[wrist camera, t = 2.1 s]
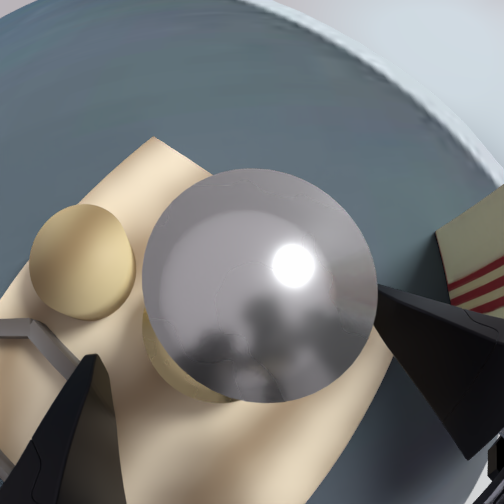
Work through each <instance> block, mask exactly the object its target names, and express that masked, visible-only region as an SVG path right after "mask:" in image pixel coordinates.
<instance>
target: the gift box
mask: <svg viewBox="0 0 504 504" xmlns="http://www.w3.org/2000/svg"><path fill="white" fill-rule="evenodd" d="M435 233H436V238H437V241H438V245H439V249H440V253H441V257H442V262H443V266H444V271H445V275H446V280H447V287H448V291H449V297H450V302H451V305H453V306H456V307H460V308H462V309H467V310H470V311H474V312H477V313H481V314H485V315H489V316H494V317H498V318H503V319H504V184H503V185H502V186H500V187H499V188H498V189H496V190H495V191H494V192H492V193H491V194H490V195H488V196H487V197H485V198H484V199H483V200H481V201H480V202H478V203H477V204H475V205H474V206H473V207H471V208H470V209H468V210H467V211H465V212H464V213H462V214H461V215H459V216H458V217H456V218H455V219H453V220H452V221H450V222H449V223H447V224H446V225H444V226H443V227H441V228H439V229H438V230H436V231H435Z"/></svg>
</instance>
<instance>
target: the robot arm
mask: <svg viewBox="0 0 504 504" xmlns="http://www.w3.org/2000/svg"><path fill="white" fill-rule="evenodd" d="M377 285H378V301H377V309H376V316H375V320H374V324H373V326H374V327H375V329H376V330H377V332H378V334H379V335H380V337H381V338H382V340H383V342H384V343H385V344H386V346H387V347H388V349H389V350H390V351H391V352H392V354H393V355H394V356H395V358H396V359H397V360H398V362H399V363H400V364H401V366H402V367H403V369H404V370H405V371H406V373H407V374H408V375H409V377H410V378H411V379H412V381H413V382H414V384H415V385H416V386H417V388H418V389H419V390H420V392H421V393H422V395H423V396H424V397H425V399H426V400H427V402H428V403H429V405H430V406H431V407H432V409H433V410H434V412H435V413H436V415H437V416H438V417H439V419H440V420H441V422H443V423H442V424H443V425H444V427H445V428H446V429H447V431H448V432H449V434H450V435H451V437H452V438H453V440H454V441H455V443H456V445H457V446H458V448H459V449H460V451H461V452H462V454H463V455H464V457H465V458H466V459H467V460H470V459H471V458H472V457H473V456H474V455H475V454H476V453H478V452H479V451H480V450H481V449H482V448H483V447H484V446H485V445H486V444H487V443H489V442H490V441H491V440H492V439H493V438H494V437H495V436H496V435H497V434H498V433H499V434H500V437H499V438H498V439H497V440H496V442H495V443H494V444H493V445H492V447H491V448H490V449H489V450H488V477H489V478H490V479H491V480H492V482H491V484H490V485H489V486H488V487H487V488H486V489H485V491H484V492H483V493H482V494H481V495H480V496H479V497H478V498H477V499H476V501H475V502H474V503H473V504H504V319H503V318H498V317H494V316H489V315H485V314H481V313H477V312H474V311H470V310H467V309H462V308H460V307H456V306H453V305H449V304H446V303H443V302H439V301H436V300H432V299H429V298H425V297H422V296H418V295H415V294H411V293H408V292H404V291H401V290H398V289H394V288H391V287H387V286H384V285H380V284H377ZM0 504H127V502H126V497H125V491H124V485H123V479H122V472H121V464H120V455H119V446H118V435H117V423H116V417H115V411H114V405H113V399H112V392H111V385H110V378H109V374H108V372H107V370H106V368H105V366H104V364H103V362H102V360H101V358H100V356H99V355H98V354H96V353H94V354H87V355H85V356H84V357H83V358H82V360H81V361H80V362H79V364H78V365H77V367H76V368H75V370H74V371H73V373H72V374H71V376H70V377H69V379H68V380H67V382H66V383H65V385H64V386H63V388H62V389H61V391H60V392H59V394H58V395H57V397H56V398H55V400H54V402H53V403H52V405H51V406H50V408H49V410H48V411H47V413H46V414H45V416H44V418H43V419H42V421H41V423H40V424H39V426H38V428H37V429H36V431H35V433H34V434H33V436H32V440H30V441H29V443H28V445H27V446H26V448H25V450H24V452H23V453H22V455H21V457H20V458H19V460H18V462H17V463H16V465H15V466H14V468H13V470H12V471H11V473H10V474H9V476H8V477H7V479H6V480H5V482H4V483H3V485H2V486H1V488H0Z"/></svg>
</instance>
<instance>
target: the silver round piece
mask: <svg viewBox="0 0 504 504" xmlns="http://www.w3.org/2000/svg"><path fill="white" fill-rule="evenodd" d="M142 291H143V297H144V304H145V307H144V312H143V319H142V334H143V340H144V345H145V348H146V351H147V354H148V357H149V359H150V361H151V363H152V364H153V366H154V368H155V369H156V370H157V372H158V373H159V375H160V376H161V377H162V378H163V379H164V380H165V381H166V382H167V383H168V384H169V385H171V386H172V387H173V388H174V389H176V390H178V391H179V392H181V393H182V394H184V395H186V396H189V397H191V398H193V399H197V400H200V401H204V402H210V403H230V402H236V401H240V400H242V401H246V402H255V403H281V402H286V401H291V400H296V399H300V398H303V397H305V396H308V395H311V394H314V393H316V392H317V391H319V390H321V389H323V388H325V387H327V386H328V385H330V384H331V383H332V382H334V381H335V380H336V379H338V378H339V377H340V376H341V375H342V374H343V373H344V372H345V371H346V370H347V369H348V368H349V367H350V366H351V365H352V364H353V363H354V361H355V360H356V359H357V357H358V356H359V355H360V353H361V351H362V350H363V348H364V346H365V344H366V342H367V340H368V338H369V335H370V333H371V330H372V328H373V324H374V320H375V316H376V309H377V301H378V285H377V277H376V271H375V266H374V262H373V258H372V256H371V253H370V250H369V247H368V245H367V243H366V241H365V239H364V237H363V235H362V233H361V231H360V230H359V228H358V227H357V225H356V224H355V222H354V221H353V220H352V218H351V217H350V216H349V214H348V213H347V212H346V211H345V210H344V209H343V208H342V207H341V206H340V205H339V204H338V203H337V202H336V201H335V200H334V199H333V198H331V197H330V196H329V195H328V194H326V193H325V192H324V191H322V190H320V189H319V188H317V187H316V186H314V185H312V184H310V183H309V182H307V181H305V180H303V179H300V178H298V177H295V176H292V175H290V174H286V173H282V172H279V171H274V170H267V169H251V168H249V169H236V170H231V171H226V172H222V173H219V174H216V175H213V176H210V177H207V178H205V179H203V180H201V181H199V182H197V183H195V184H194V185H192V186H191V187H189V188H188V189H186V190H185V191H183V192H182V193H181V194H180V195H179V196H178V197H177V198H175V199H174V200H173V201H172V202H171V204H170V205H169V206H168V207H167V208H166V209H165V211H164V212H163V213H162V215H161V216H160V218H159V219H158V221H157V223H156V224H155V226H154V228H153V230H152V233H151V235H150V237H149V239H148V243H147V246H146V250H145V253H144V259H143V266H142Z"/></svg>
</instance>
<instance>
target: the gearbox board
mask: <svg viewBox="0 0 504 504" xmlns="http://www.w3.org/2000/svg"><path fill="white" fill-rule="evenodd" d="M210 176H213V175H212V174H210V173H209V172H207V171H206V170H204V169H203V168H201V167H200V166H198V165H197V164H195V163H194V162H192V161H191V160H189V159H188V158H186V157H185V156H183V155H182V154H180V153H179V152H177V151H175V150H174V149H172V148H171V147H169V146H168V145H166V144H165V143H163V142H162V141H160V140H158V139H157V138H155V137H154V136H153V137H152V138H151V139H149V140H148V141H147V142H146V143H144V144H143V145H142V146H141V147H139V148H138V149H137V150H136V151H135V152H133V153H132V154H131V155H130V156H129V157H128V158H126V159H125V160H124V161H123V162H122V163H121V164H120V165H118V166H117V167H116V168H115V169H114V170H113V171H112V172H111V173H109V174H108V175H107V176H106V177H105V178H104V179H103V180H102V181H101V182H100V183H99V184H98V185H97V186H96V187H95V188H94V189H93V190H91V191H90V192H89V193H88V194H87V195H86V196H85V197H84V198H83V199H82V200H81V201H80V202H79V204H78V205H74V206H71V207H68V208H65V209H63V210H61V211H59V212H58V213H56V214H55V215H54V216H52V217H51V218H50V219H49V220H48V221H47V222H46V223H45V224H44V225H43V227H42V228H41V229H40V231H39V232H38V234H37V236H36V238H35V240H34V242H33V245H32V248H31V252H30V259H29V261H28V262H27V263H26V265H25V266H24V267H23V269H22V270H21V271H20V273H19V274H18V275H17V277H16V278H15V279H14V281H13V282H12V284H11V285H10V286H9V288H8V289H7V291H6V292H5V294H4V295H3V297H2V298H1V300H0V478H1V479H2V480H3V481H4V482H5V480H6V479H7V477H8V476H9V474H10V473H11V471H12V470H13V468H14V466H15V465H16V463H17V462H18V460H19V458H20V457H21V455H22V453H23V452H24V450H25V448H26V446H27V445H28V443H29V441H30V440H32V436H33V434H34V433H35V431H36V429H37V428H38V426H39V424H40V423H41V421H42V419H43V418H44V416H45V414H46V413H47V411H48V410H49V408H50V406H51V405H52V403H53V402H54V400H55V398H56V397H57V395H58V394H59V392H60V391H61V389H62V388H63V386H64V385H65V383H66V382H67V380H68V379H69V377H70V376H71V374H72V373H73V371H74V370H75V368H76V367H77V365H78V364H79V362H80V361H81V360H82V358H83V357H84V356H85V355H87V354H94V353H96V354H98V355H99V356H100V358H101V360H102V362H103V364H104V366H105V368H106V370H107V372H108V374H109V378H110V385H111V392H112V399H113V405H114V411H115V417H116V423H117V435H118V446H119V455H120V464H121V472H122V479H123V485H124V491H125V497H126V502H127V504H305V503H306V501H307V500H308V499H309V498H310V496H311V495H312V494H313V493H314V491H315V490H316V489H317V487H318V486H319V485H320V483H321V482H322V481H323V479H324V478H325V476H326V475H327V474H328V472H329V471H330V469H331V468H332V466H333V465H334V464H335V462H336V461H337V459H338V458H339V456H340V454H341V453H342V451H343V450H344V448H345V447H346V445H347V444H348V442H349V440H350V439H351V437H352V435H353V434H354V432H355V430H356V429H357V427H358V425H359V423H360V422H361V420H362V418H363V416H364V415H365V413H366V411H367V409H368V407H369V405H370V404H371V402H372V400H373V398H374V396H375V394H376V392H377V390H378V388H379V386H380V384H381V382H382V380H383V378H384V375H385V373H386V371H387V369H388V367H389V365H390V362H391V360H392V358H393V356H394V355H393V354H392V352H391V351H390V350H389V349H388V347H387V346H386V344H385V343H384V342H383V340H382V338H381V337H380V335H379V334H378V332H377V330H376V329H375V327H374V326H373V328H372V330H371V333H370V335H369V338H368V340H367V342H366V344H365V346H364V348H363V350H362V351H361V353H360V355H359V356H358V357H357V359H356V360H355V361H354V363H353V364H352V365H351V366H350V367H349V368H348V369H347V370H346V371H345V372H344V373H343V374H342V375H341V376H340V377H339V378H338V379H336V380H335V381H334V382H332V383H331V384H330V385H328V386H327V387H325V388H323V389H321V390H319V391H317V392H316V393H314V394H311V395H308V396H305V397H303V398H300V399H296V400H291V401H286V402H281V403H255V402H246V401H242V400H240V401H236V402H230V403H210V402H204V401H200V400H197V399H193V398H191V397H189V396H186V395H184V394H182V393H181V392H179V391H178V390H176V389H174V388H173V387H172V386H171V385H169V384H168V383H167V382H166V381H165V380H164V379H163V378H162V377H161V376H160V375H159V373H158V372H157V370H156V369H155V368H154V366H153V364H152V363H151V361H150V359H149V357H148V354H147V351H146V348H145V345H144V340H143V334H142V319H143V312H144V307H145V304H144V297H143V291H142V266H143V259H144V253H145V250H146V246H147V243H148V239H149V237H150V235H151V233H152V230H153V228H154V226H155V224H156V223H157V221H158V219H159V218H160V216H161V215H162V213H163V212H164V211H165V209H166V208H167V207H168V206H169V205H170V204H171V202H172V201H173V200H174V199H175V198H177V197H178V196H179V195H180V194H181V193H182V192H183V191H185V190H186V189H188V188H189V187H191V186H192V185H194V184H195V183H197V182H199V181H201V180H203V179H205V178H207V177H210Z"/></svg>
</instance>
